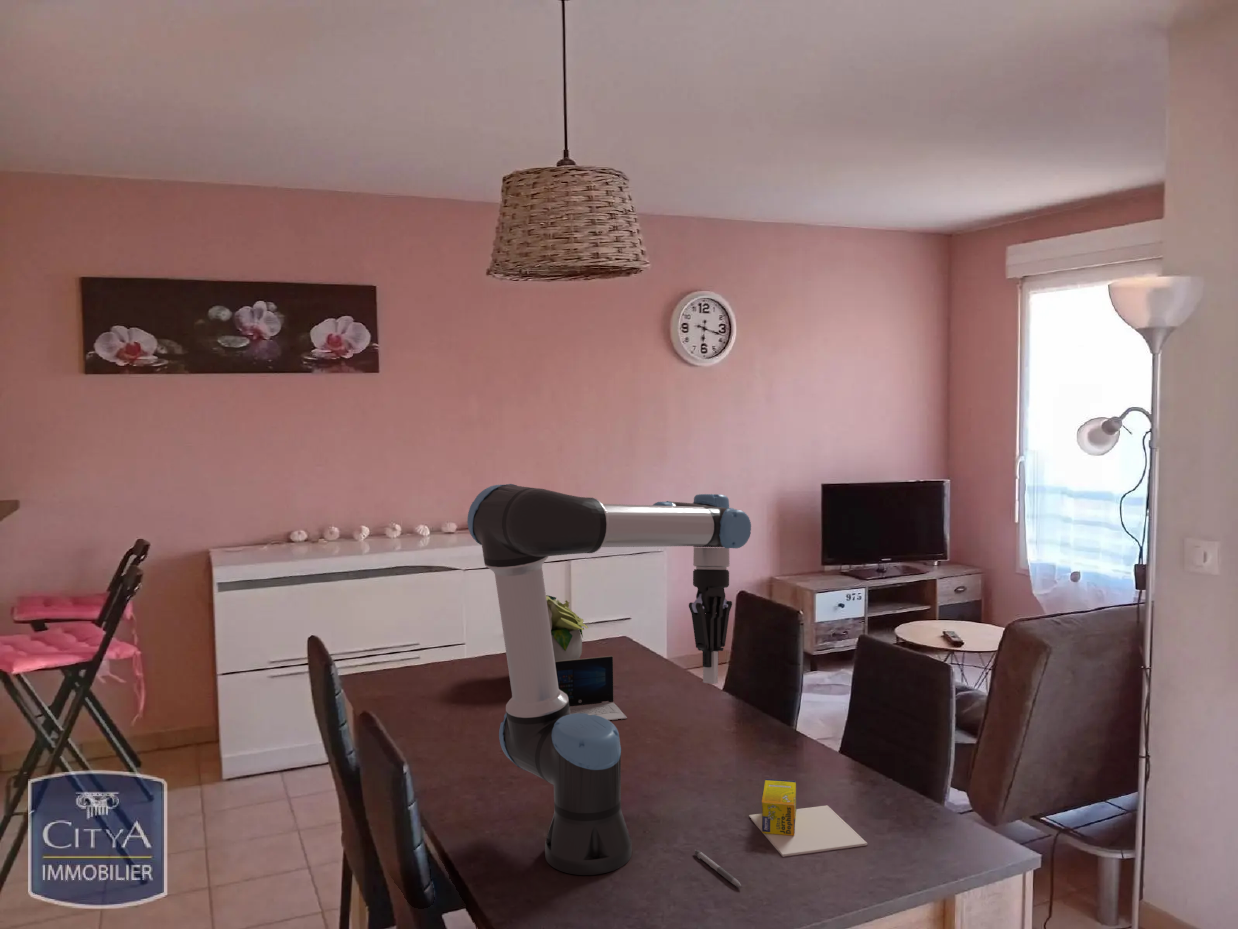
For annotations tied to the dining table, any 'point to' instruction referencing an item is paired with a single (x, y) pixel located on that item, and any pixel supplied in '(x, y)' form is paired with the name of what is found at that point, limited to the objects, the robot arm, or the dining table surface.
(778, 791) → the supplement box
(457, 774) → the dining table surface
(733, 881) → the pen
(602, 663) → the laptop
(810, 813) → the mat
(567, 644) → the flower arrangement
